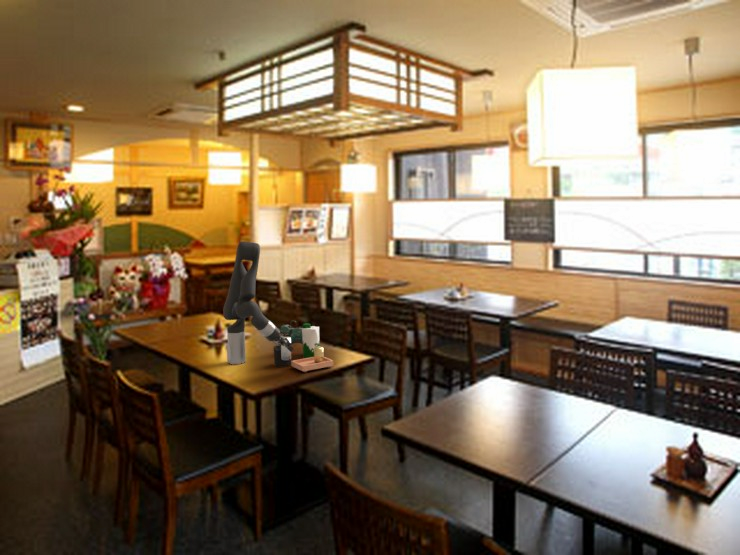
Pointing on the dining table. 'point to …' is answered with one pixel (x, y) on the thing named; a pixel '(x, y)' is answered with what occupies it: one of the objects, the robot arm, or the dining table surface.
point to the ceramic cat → (292, 333)
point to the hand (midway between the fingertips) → (289, 349)
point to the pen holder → (277, 357)
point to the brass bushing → (318, 354)
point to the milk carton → (310, 339)
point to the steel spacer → (285, 351)
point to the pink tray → (311, 364)
